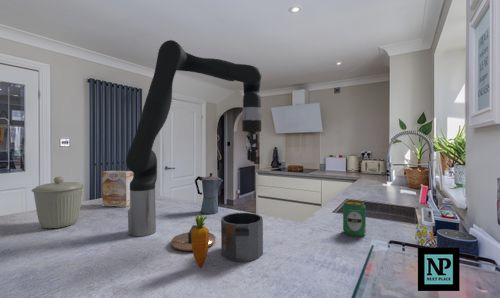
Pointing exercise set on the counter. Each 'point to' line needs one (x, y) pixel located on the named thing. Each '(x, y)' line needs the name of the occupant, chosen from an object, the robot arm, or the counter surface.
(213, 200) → the moka pot
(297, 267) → the counter surface
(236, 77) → the robot arm
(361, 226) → the beverage can
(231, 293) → the counter surface
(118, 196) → the coffeecake box
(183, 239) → the lid
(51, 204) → the canister
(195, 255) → the carrot
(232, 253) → the cooking pot
